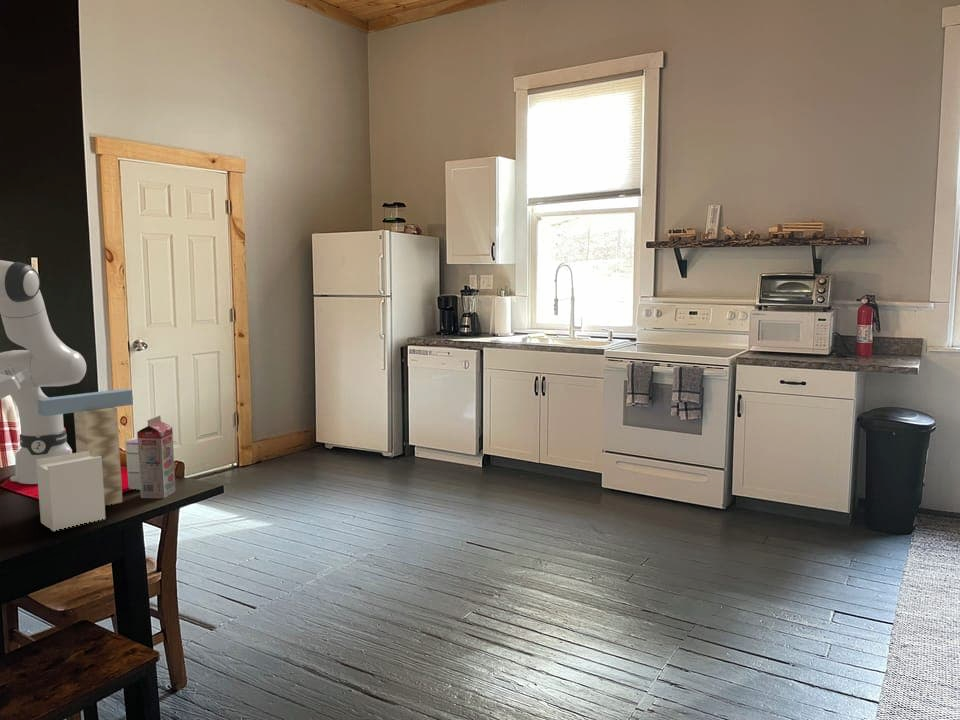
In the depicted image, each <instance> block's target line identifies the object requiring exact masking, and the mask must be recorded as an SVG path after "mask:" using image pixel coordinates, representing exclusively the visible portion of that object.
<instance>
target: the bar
mask: <svg viewBox="0 0 960 720" xmlns="http://www.w3.org/2000/svg"><path fill="white" fill-rule="evenodd" d="M133 399H134V398H133V390H132V389H128V388H119V389H113V390H112V389H110V390H103V391H102V390H101V391H94V392H85V393H77V394H68V395H60V396H59V395H58V396H52V397H51V396H50V397H49V398H41V399H37V400H38V414H39V415H41V416H52V415H59V414H63V415H65V414H72V413H73V414H74V412H82V411H89V410H97V409H104V408H112V407H115V408H118V407H119V408H120V407H126V406H133V405H134V401H133Z"/></svg>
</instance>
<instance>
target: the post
mask: <svg viewBox="0 0 960 720" xmlns="http://www.w3.org/2000/svg"><path fill="white" fill-rule="evenodd" d="M73 419H74V421H73V422H74V432H75V433H74V434H75V435H74V436H75V448H76V453H77V452H83V451H89V453H90V456H91V457H98V456H101V457H102V471H103V487H104V503H105V507H106V505H108V506H111V504H112V505H117V504H121V503H123V489H122V486H123V485H122V473H121V471H122V469H121V468H122V467H121V456H120V455H121V454H120V438H119V436H120V435H119V422H118V419H119V418H118V407H112V408H104V409H97V410H89V411H82V412H74V413H73Z"/></svg>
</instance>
